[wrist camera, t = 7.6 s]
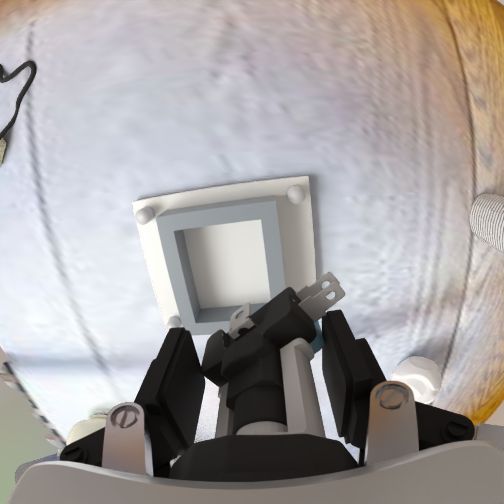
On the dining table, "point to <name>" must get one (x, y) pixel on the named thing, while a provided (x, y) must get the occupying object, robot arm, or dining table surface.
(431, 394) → the white rounded piece
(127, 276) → the dining table surface
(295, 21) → the dining table surface
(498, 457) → the robot arm
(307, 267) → the frame
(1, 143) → the cable
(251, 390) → the push button
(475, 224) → the cup
